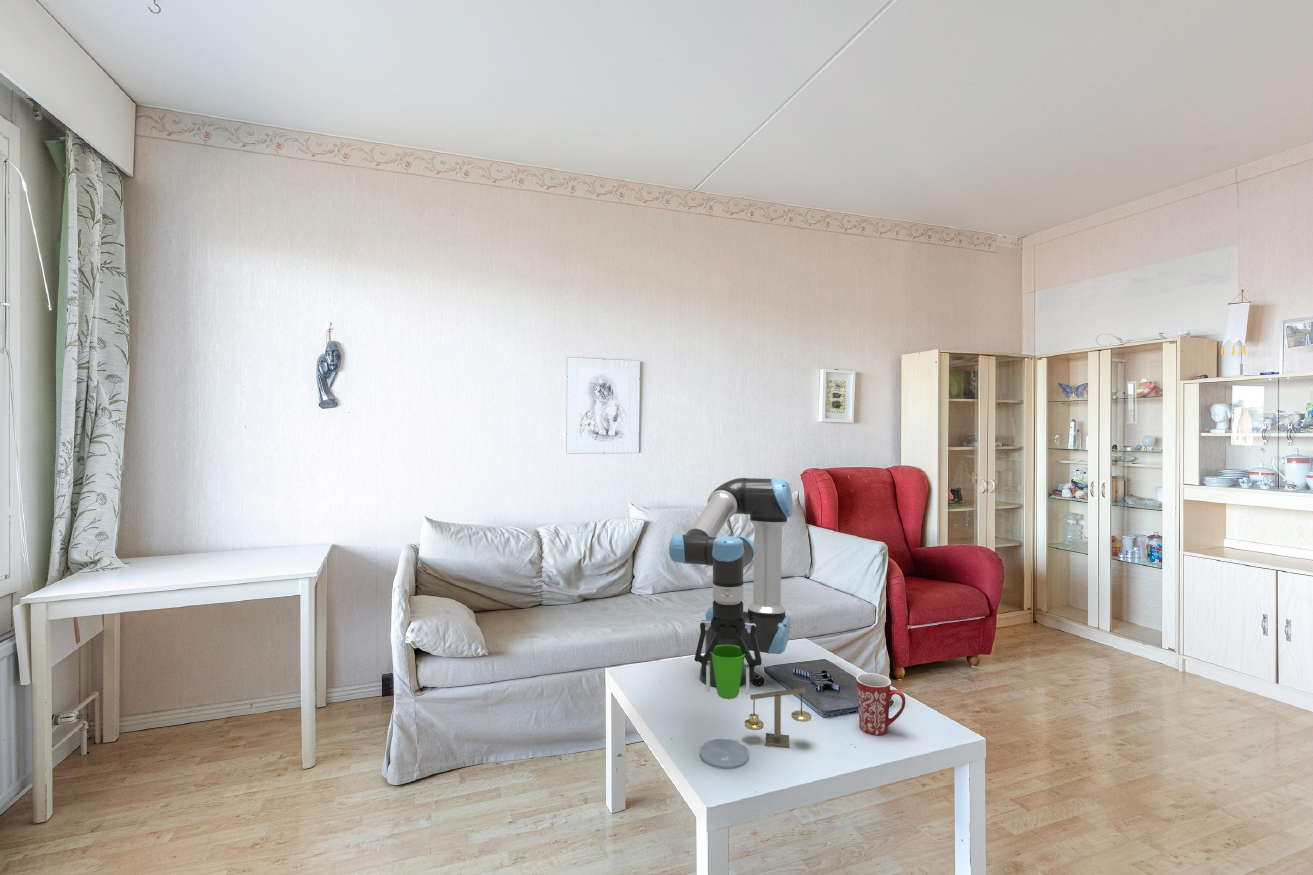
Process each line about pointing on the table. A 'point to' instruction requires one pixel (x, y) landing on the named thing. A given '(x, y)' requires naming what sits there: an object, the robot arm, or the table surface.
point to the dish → (724, 753)
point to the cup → (727, 669)
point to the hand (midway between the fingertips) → (727, 690)
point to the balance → (776, 717)
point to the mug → (875, 703)
